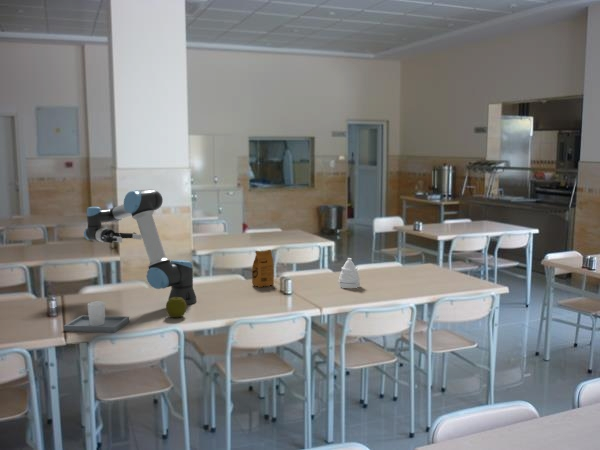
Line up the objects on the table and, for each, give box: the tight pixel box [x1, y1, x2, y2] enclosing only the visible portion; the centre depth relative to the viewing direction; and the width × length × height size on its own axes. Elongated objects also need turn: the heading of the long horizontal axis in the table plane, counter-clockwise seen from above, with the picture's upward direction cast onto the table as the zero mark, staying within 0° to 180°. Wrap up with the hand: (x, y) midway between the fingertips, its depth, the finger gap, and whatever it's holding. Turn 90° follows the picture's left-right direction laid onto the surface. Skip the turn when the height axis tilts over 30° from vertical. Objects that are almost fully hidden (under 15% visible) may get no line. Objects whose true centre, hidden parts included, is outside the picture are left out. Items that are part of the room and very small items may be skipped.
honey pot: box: [338, 257, 361, 289], centre depth 370 cm, size 13×13×18 cm
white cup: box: [87, 300, 106, 326], centre depth 285 cm, size 8×8×10 cm
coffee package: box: [251, 249, 275, 288], centre depth 373 cm, size 10×12×22 cm
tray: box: [63, 314, 130, 333], centre depth 286 cm, size 24×18×2 cm
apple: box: [165, 297, 188, 318], centre depth 302 cm, size 10×10×11 cm
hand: (131, 238), depth 330 cm, fingers open, 13 cm apart
